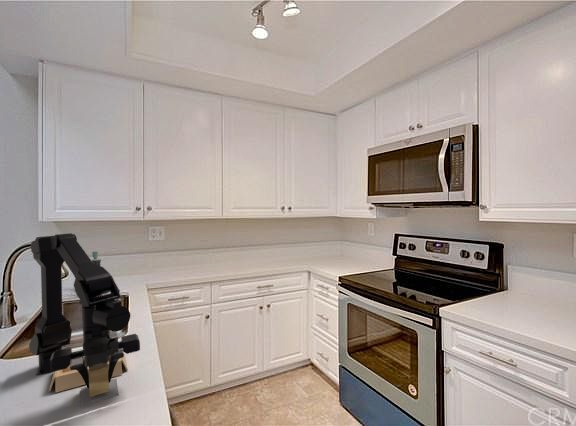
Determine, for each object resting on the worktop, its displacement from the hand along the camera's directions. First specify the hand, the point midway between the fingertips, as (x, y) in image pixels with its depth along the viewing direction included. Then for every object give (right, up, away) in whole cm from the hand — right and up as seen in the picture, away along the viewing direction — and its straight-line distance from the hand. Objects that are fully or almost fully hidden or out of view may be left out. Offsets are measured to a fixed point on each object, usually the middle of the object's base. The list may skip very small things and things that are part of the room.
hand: (99, 384), depth 78 cm
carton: (-9, -3, +11) cm, 14 cm away
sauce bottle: (-58, -3, +93) cm, 109 cm away
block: (0, -1, +1) cm, 1 cm away
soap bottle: (-65, -3, +105) cm, 123 cm away
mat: (0, -3, +1) cm, 3 cm away
